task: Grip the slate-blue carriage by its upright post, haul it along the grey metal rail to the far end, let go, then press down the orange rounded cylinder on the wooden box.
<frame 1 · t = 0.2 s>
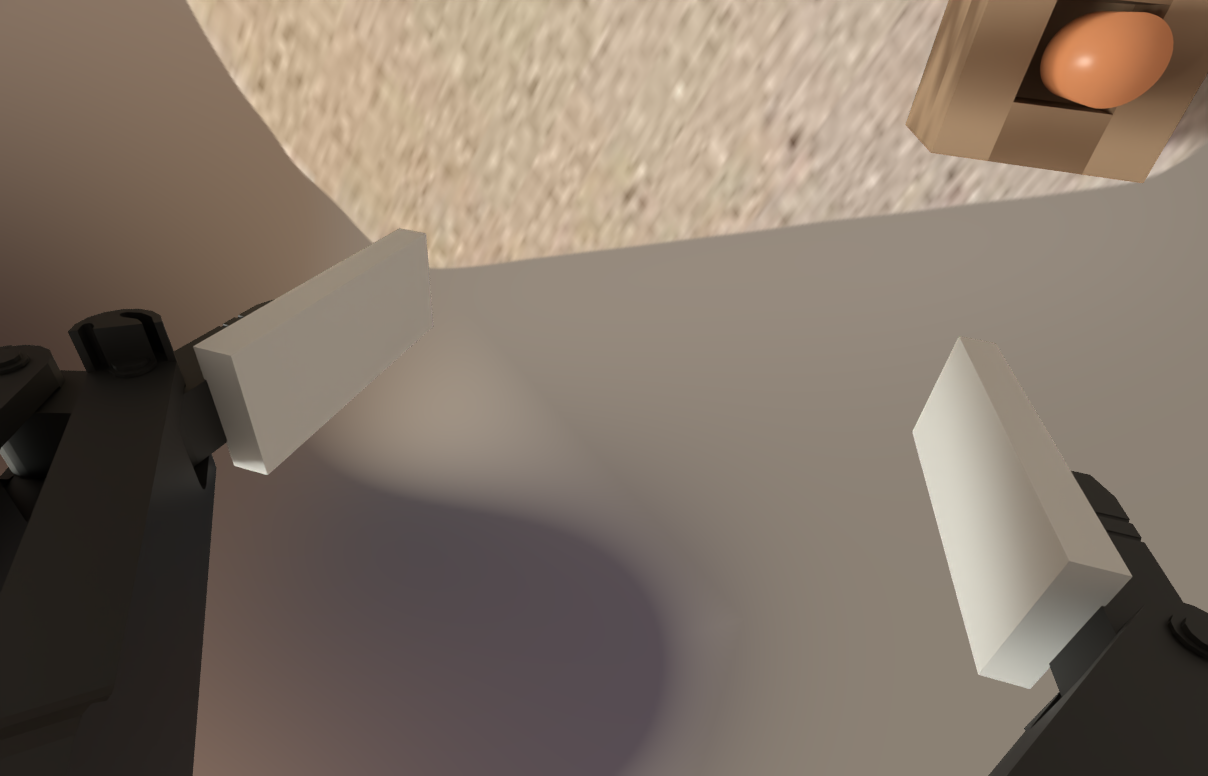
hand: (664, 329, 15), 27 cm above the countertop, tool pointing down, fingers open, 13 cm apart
wooden box: (1026, 45, 31), on the countertop
orange rounded cylinder: (1101, 58, 24), point 9 cm above the countertop, slide at 2.5 cm
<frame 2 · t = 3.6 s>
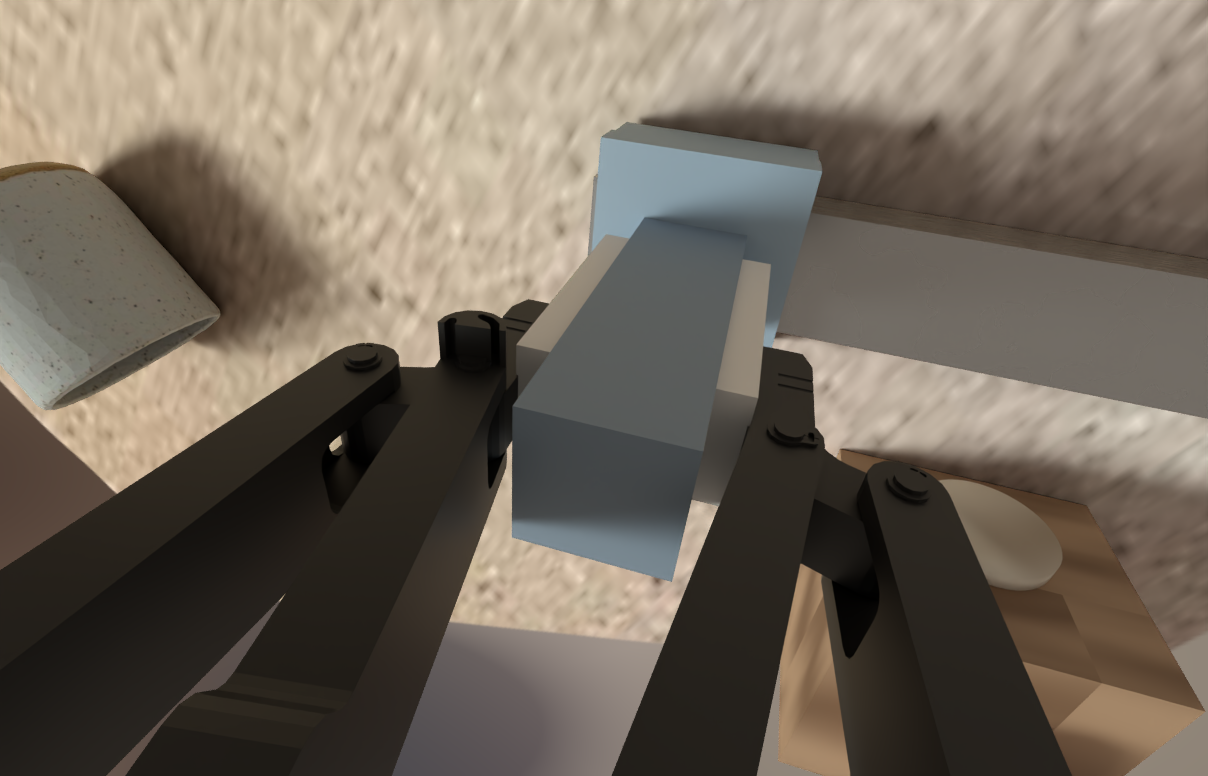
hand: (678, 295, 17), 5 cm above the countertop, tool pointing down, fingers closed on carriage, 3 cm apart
rail: (911, 275, 20), on the countertop
carriage: (666, 324, 15), point 7 cm above the countertop, slide at 0.0 cm, touching gripper
wooden box: (914, 553, 26), on the countertop
ceramic mug: (145, 271, 29), on the countertop
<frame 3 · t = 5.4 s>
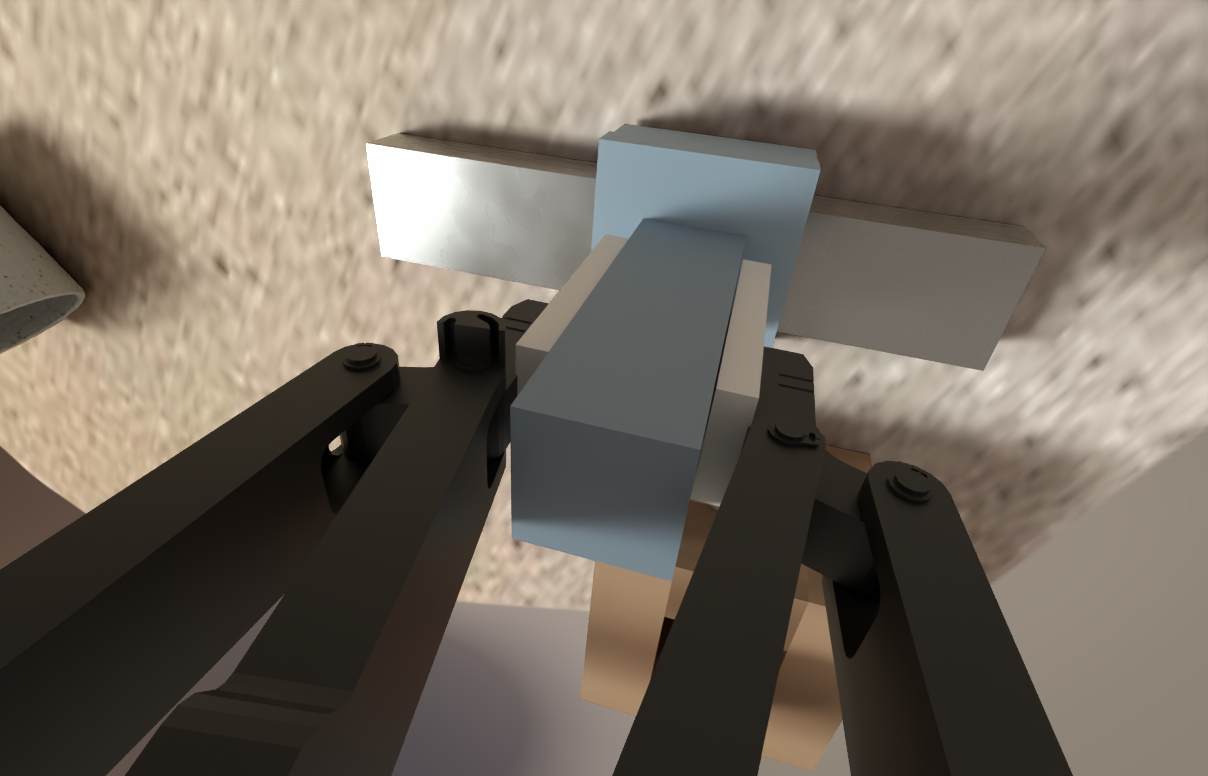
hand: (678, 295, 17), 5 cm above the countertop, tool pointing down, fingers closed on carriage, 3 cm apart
rail: (673, 233, 21), on the countertop
carriage: (666, 324, 15), point 7 cm above the countertop, slide at 8.0 cm, touching gripper
wooden box: (733, 507, 27), on the countertop
ceramic mug: (18, 254, 31), on the countertop
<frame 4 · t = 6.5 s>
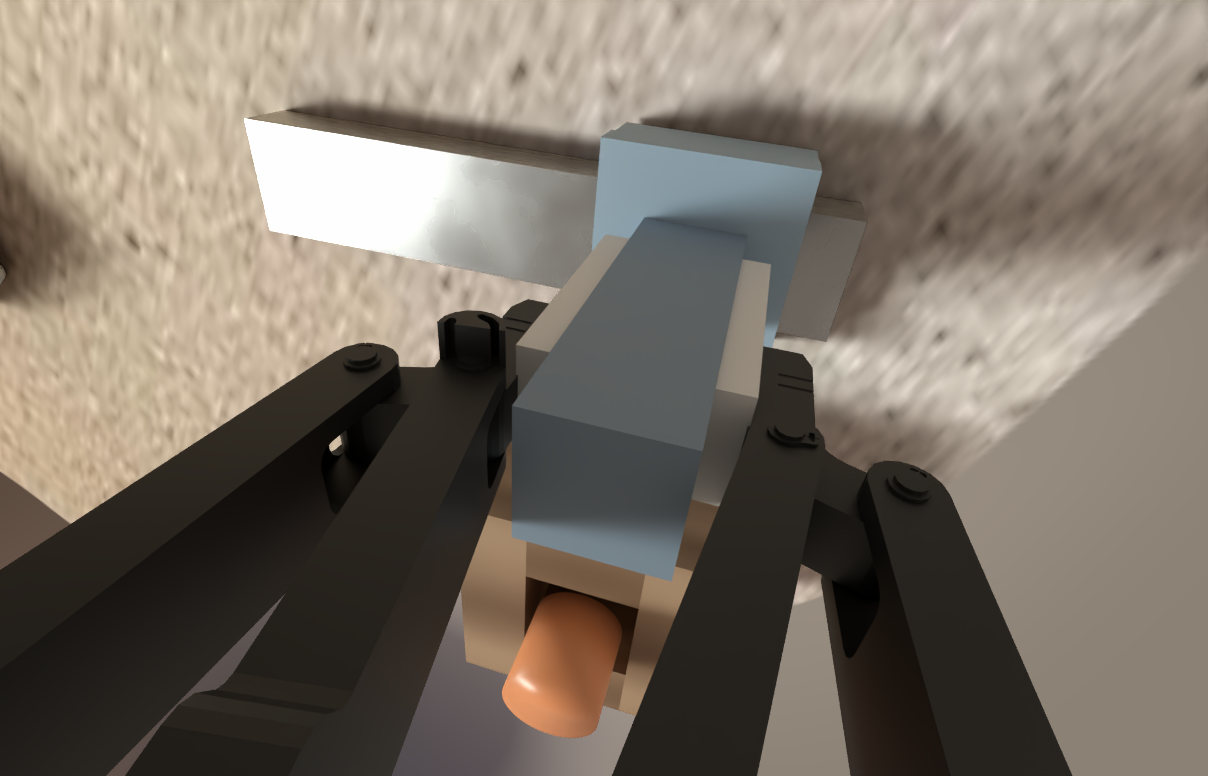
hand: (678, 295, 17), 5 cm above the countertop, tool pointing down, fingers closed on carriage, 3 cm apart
rail: (545, 210, 22), on the countertop
carriage: (666, 324, 15), point 7 cm above the countertop, slide at 12.7 cm, touching gripper
wooden box: (628, 481, 28), on the countertop
orange rounded cylinder: (565, 662, 20), point 9 cm above the countertop, slide at 2.5 cm
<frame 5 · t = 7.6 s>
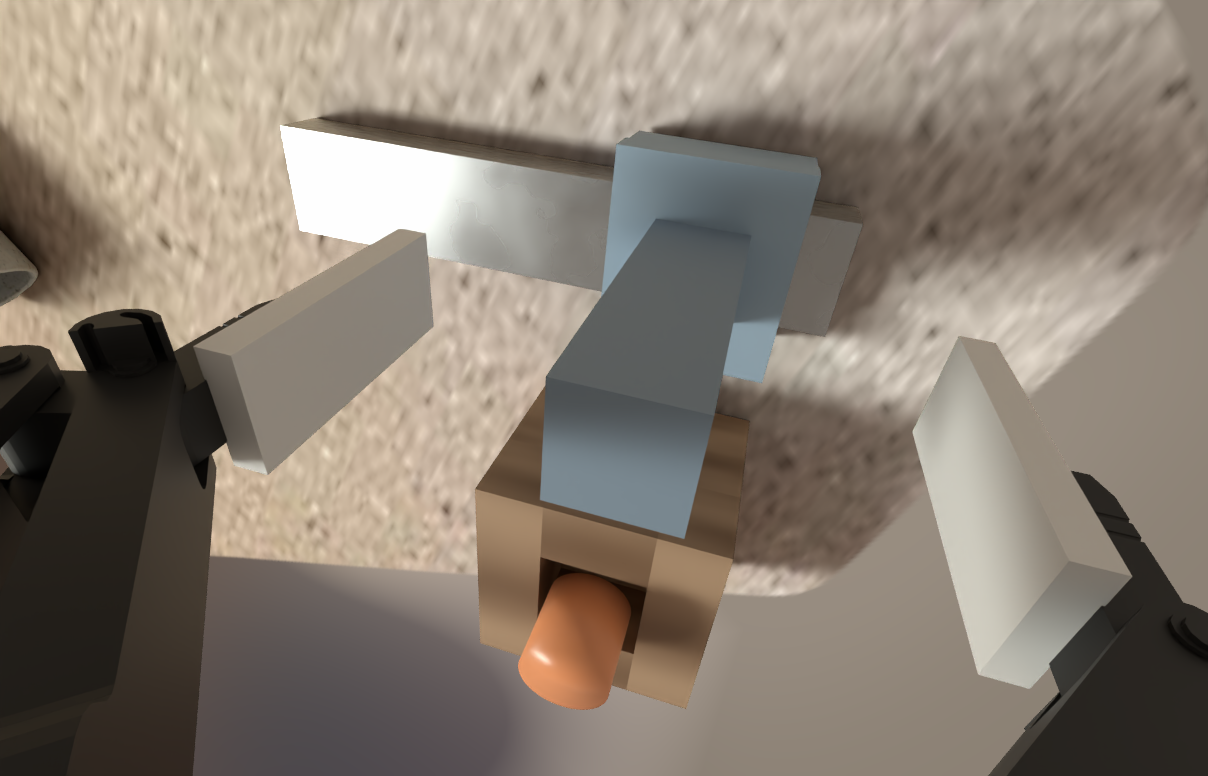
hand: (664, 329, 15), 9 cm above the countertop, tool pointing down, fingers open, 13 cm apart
rail: (561, 212, 23), on the countertop
carriage: (677, 315, 16), point 7 cm above the countertop, slide at 12.7 cm
wooden box: (635, 473, 29), on the countertop
orange rounded cylinder: (577, 639, 21), point 9 cm above the countertop, slide at 2.5 cm
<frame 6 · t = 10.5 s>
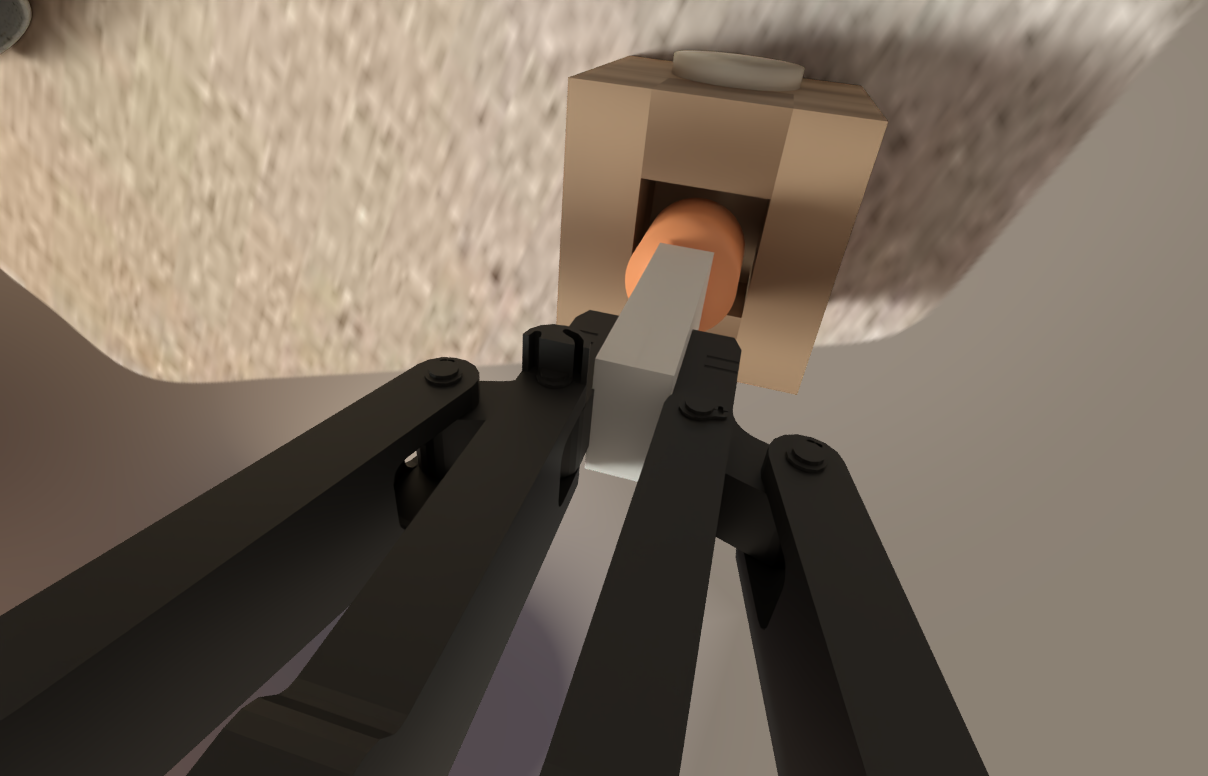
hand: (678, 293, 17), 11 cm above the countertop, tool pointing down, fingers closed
wooden box: (718, 187, 26), on the countertop
orange rounded cylinder: (687, 264, 18), point 9 cm above the countertop, slide at 2.3 cm, touching gripper
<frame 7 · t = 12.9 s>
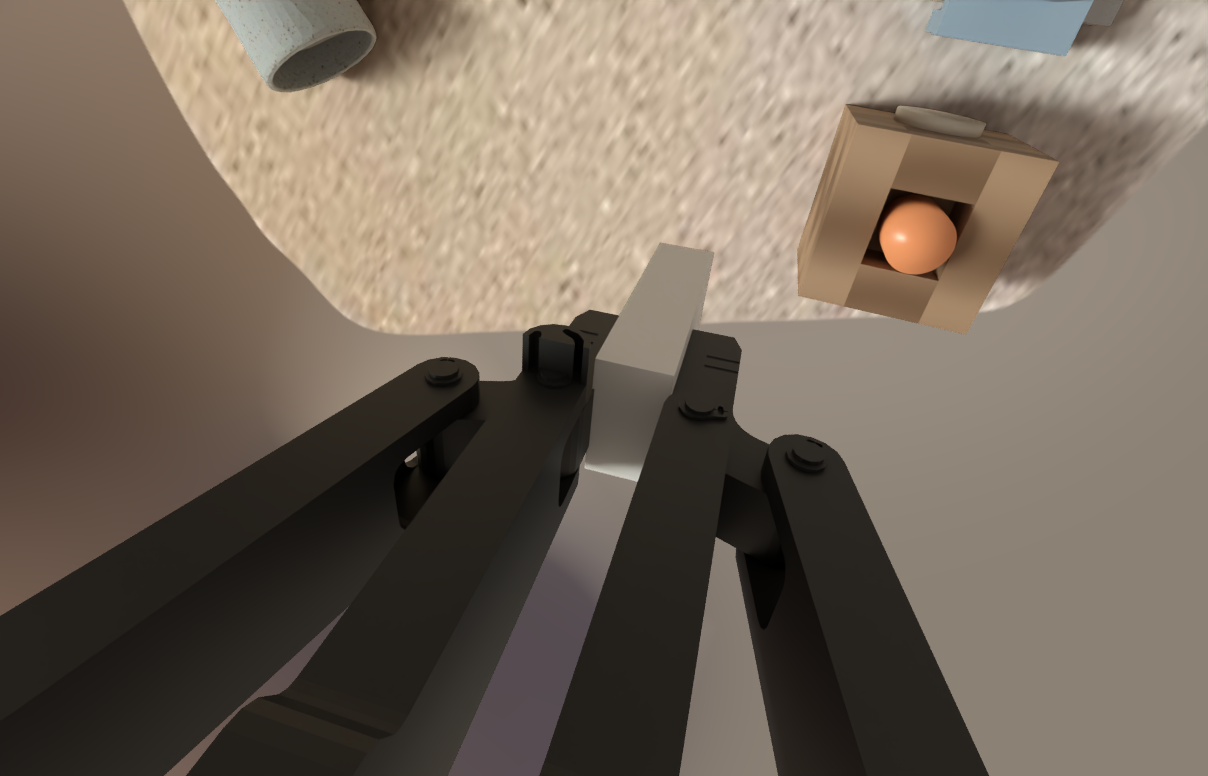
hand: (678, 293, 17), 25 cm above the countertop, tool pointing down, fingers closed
wooden box: (893, 196, 37), on the countertop
orange rounded cylinder: (914, 233, 31), point 8 cm above the countertop, slide at 0.7 cm
ceramic mug: (317, 17, 41), on the countertop
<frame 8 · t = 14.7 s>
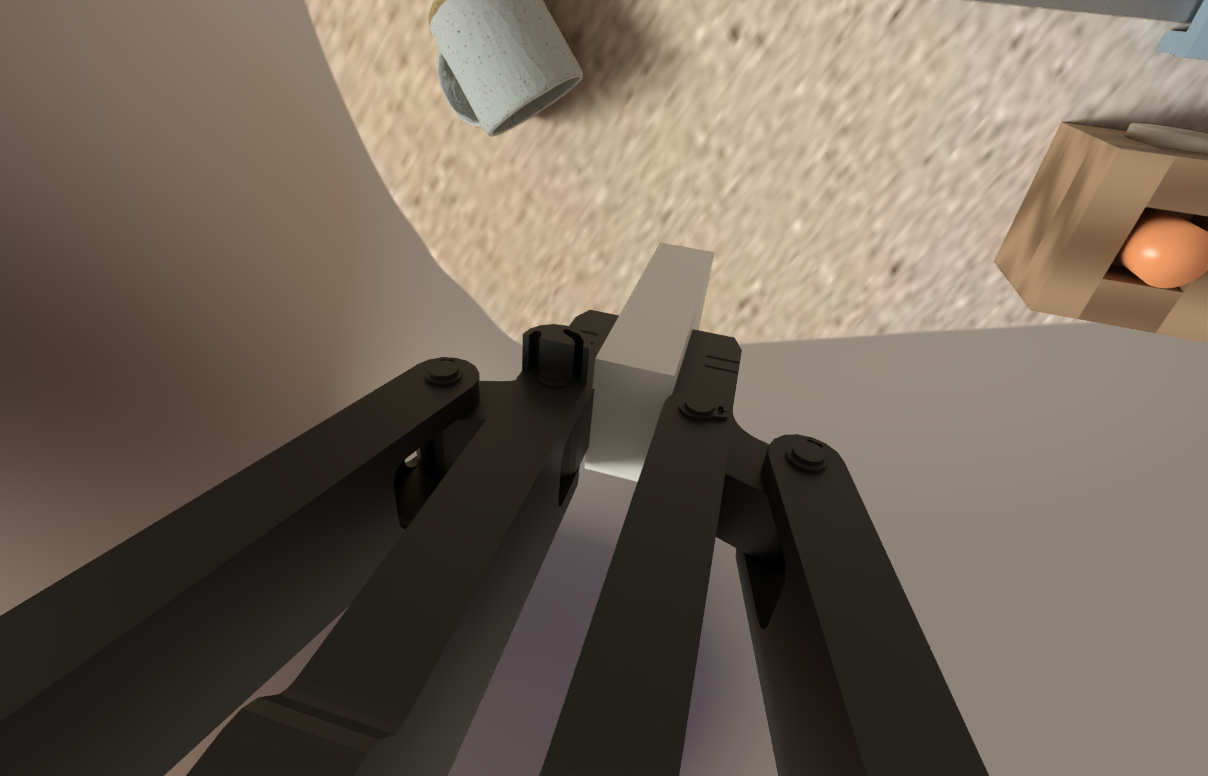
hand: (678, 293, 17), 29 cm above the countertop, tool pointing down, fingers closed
wooden box: (1101, 208, 38), on the countertop
orange rounded cylinder: (1161, 248, 32), point 8 cm above the countertop, slide at 0.7 cm
ceramic mug: (514, 62, 43), on the countertop
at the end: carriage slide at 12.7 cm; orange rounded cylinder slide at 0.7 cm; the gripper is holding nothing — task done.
